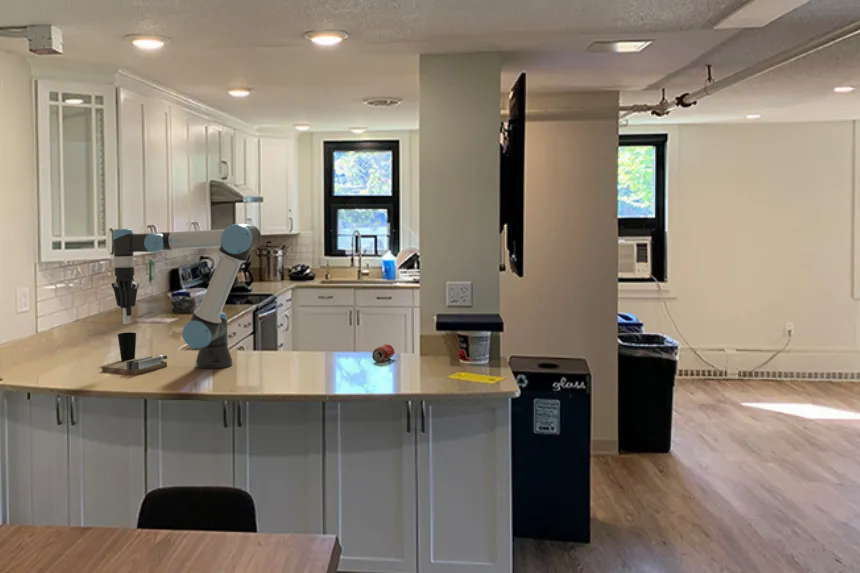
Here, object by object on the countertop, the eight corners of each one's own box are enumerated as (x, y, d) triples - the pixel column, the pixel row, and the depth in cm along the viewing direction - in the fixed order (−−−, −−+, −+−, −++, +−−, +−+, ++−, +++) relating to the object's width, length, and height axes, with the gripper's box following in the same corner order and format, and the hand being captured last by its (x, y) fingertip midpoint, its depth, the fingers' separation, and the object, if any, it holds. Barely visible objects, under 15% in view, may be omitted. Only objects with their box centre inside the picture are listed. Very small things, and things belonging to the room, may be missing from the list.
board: (167, 366, 323) (166, 362, 322) (135, 375, 306) (134, 370, 306) (135, 363, 330) (134, 358, 330) (102, 371, 313) (101, 366, 313)
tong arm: (152, 363, 319) (152, 356, 319) (129, 369, 307) (129, 361, 307) (150, 362, 320) (150, 355, 319) (126, 368, 308) (126, 361, 307)
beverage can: (370, 363, 329) (370, 348, 329) (380, 358, 341) (379, 343, 340) (385, 364, 327) (385, 349, 327) (395, 359, 339) (394, 344, 338)
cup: (130, 362, 332) (129, 335, 331) (115, 361, 334) (114, 334, 332) (140, 359, 340) (139, 332, 338) (125, 358, 341) (124, 332, 340)
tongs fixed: (169, 361, 324) (169, 354, 323) (134, 370, 305) (134, 363, 305) (162, 360, 325) (162, 353, 325) (127, 369, 307) (127, 362, 307)
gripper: (143, 266, 311) (145, 323, 313) (119, 265, 316) (122, 321, 318) (129, 267, 304) (132, 325, 306) (105, 266, 309) (108, 323, 311)
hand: (127, 323), depth 312 cm, fingers closed
